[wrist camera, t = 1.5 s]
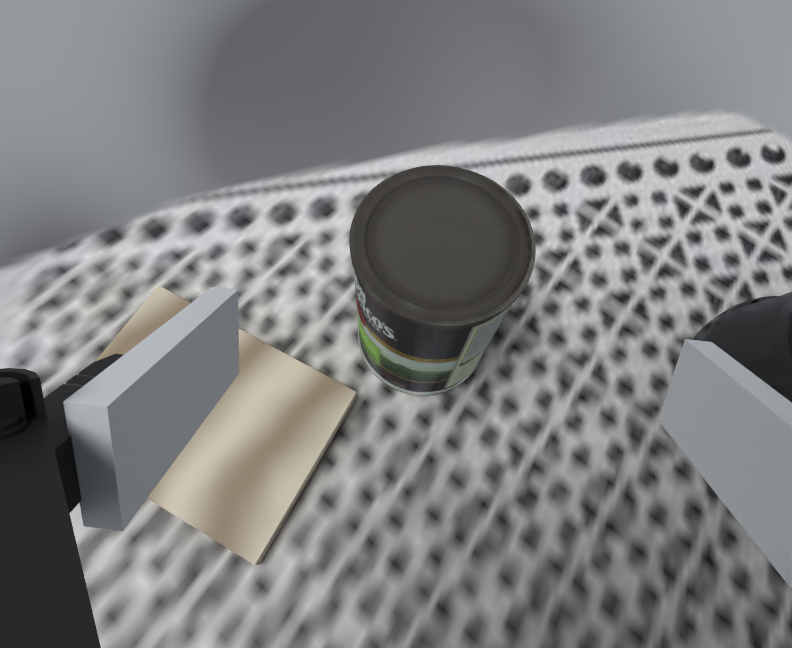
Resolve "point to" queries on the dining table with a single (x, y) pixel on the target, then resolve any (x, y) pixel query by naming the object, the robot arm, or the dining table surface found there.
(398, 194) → the coffee can
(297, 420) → the plain beige board
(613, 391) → the dining table surface
